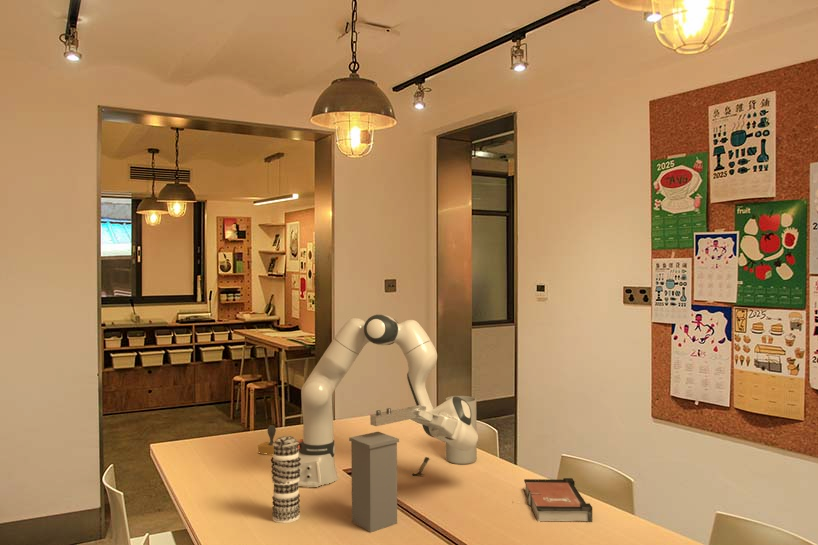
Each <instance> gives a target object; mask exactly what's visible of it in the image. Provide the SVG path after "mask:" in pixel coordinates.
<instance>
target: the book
mask: <svg viewBox="0 0 818 545" xmlns="http://www.w3.org/2000/svg"><path fill="white" fill-rule="evenodd" d="M523 481H524V485H525V489H524V493H525V496H526V497H527V498H526V499H527V504H528V506H529V507H532V508H531V510H532V512H533V514H535V515H534V517H535V519H536V521H540V522H539V523H543V522H544V523H593V506H592V505H591V503H589V502H586V501H585V499H583V496H582V495H581V494H580V492H579V491H578V489H577V488H576V486H575V482H576V481H575V479H573V478H572V477H568V478H567V477H563V479H546V478H545V479H541V478H540V479H539V478H538V479H536V478H535V479H530V478H528V479H524V480H523Z"/></svg>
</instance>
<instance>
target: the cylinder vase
mask: <svg viewBox="0 0 818 545" xmlns="http://www.w3.org/2000/svg"><path fill="white" fill-rule="evenodd" d="M454 396H456V397H460V398H462V399H463V400H465V401H466V402H467V403H468V404H469V406H470V409H471V424H472V426H473V428H474V429H475V431H476V432H477V431H478V430H477V398H476V397H473V396H467V395H451V396H448V397H445V401H447V400H449V399H450V398H452V397H454ZM477 433H478V432H477ZM477 446H478V445H477V444H476V445H475V446H474V447H473V448H472V449H470V450H468V451H462V450H459V449H456V448H454V447H452V446H450V445H449V444H448V443H447V442H445V459H446V461H447V462H449V463H451V464H455V465H469V464H473V463H475V462H476V461H477V458H478V457H477V455H478V454H477V452H478V451H477Z"/></svg>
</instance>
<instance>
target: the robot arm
mask: <svg viewBox="0 0 818 545" xmlns="http://www.w3.org/2000/svg"><path fill="white" fill-rule="evenodd" d="M369 343H372V344H373V345H378V346H390V345H393V344H396V345H397V346H399V348H400V349H401V352H402V353H403V355H404V357H405V359H406V362H407V367H408V371H407V373H406V378H407V382H408V385H409V386H408V387H409V388H410V391H411V395H412V397H413V399H414V402H415V406H418V405H422V406H425V407H426V412H424V411H422V410H418V411H417V413H416V414H417V415H418V416H420V417H418V418H413V419H409V420H411V421H412V422H414V423H416V424H420V425H422V428H423V430H424V432H425V434H426V435H428V436H430V437H432V438H435V439H437V440H439V441H441V442H443V443H446V442H447V443H448V444H449V445H450V446H452V447H454V448H456V449H459V450H462V451H468V450H470V449H472V448H473V447H474V446H475V445H476V444H477V443H478V442H479V435H478V432H476V431H477V430H476V431H475V429H474V428H473V426H472V424H471V409H470V406H469V404H468V403H467V402H466V401H465V400H463V399H462V398H460V397H456V396H457V395H453V396H454V397H452V398H450V399H449V400H447V401H446V400H445V401H444V402H442V403H441V404H439V405H437V406H436V407H433V404H432V402H431V399H430V396H429V394H428V391H427V388H426V382H427V379H428V377H429V375H430V374H431V372H432V371H433V369H434V368H435V366H436V364H437V362H438V361H437V360H438V353H437V350H436V347H435V345H434V343H433V341H432V340H431V338H430V337H429V335H428V334H427V332H426V330H425V329H424V328H423V327H422V325H421V324H419V322H418V321H416V320H414V319H408V320H406V319H405V320H404V321H402V322H400V323H399V322H398V320H396V319H395V318H393V317H392V316H389V315H387V314H386V315H385V314H374V315H372V316H370V317H368V318H367V320H366V321H365V320H363V319H362V318H358V317H353V318H350V319H349V320H347V322H345V323H344V325H343V326H342V327H341V328H340V330H338V332H337V334H336V335H335V336H334V337H333V340H332V341H331V342H330V343H329V345H328V347H327V349H325V351H324V352H323V355H322V356H321V357H320V359H319V360H318V362H317V363H316V365H315V366H314V368H313V369H312V371H311V373H310V374H309V376H308V377H307V379H306V380H305V382H304V384H303V385H302V387H301V390H300V392H301V393H300V394H301V396H300V397H301V410H302V420H303V421H302V422H303V424H302V429H303V430H302V432H303V436H302V437H303V439H299V440H298V442H299V443H298V457H299V458H301V460H300V461H298V462H300V463H301V465H300V466H298V468H299V469H300V472H299V474H300V476H299V481H298V486H308V487H307V488H309V487H317V488H319V487H318V486H320V485H322V486H325V485H324V484H326V485H329V483H330V484H332V483H335V482H336V481H338V478H339V476H338V474H337V473H338V472H337V468H336V464H335V454H336V443H335V439H334V413H333V393H334V391H335V390H336V389H337V387H338V385H339V384H340V383H341V382H342V380H343V378H344V377H345V376H346V374H347V373H348V371H349V370H350V368H351V367H352V366H353V364H354V362H355V361H356V359H357V358H358V356H359V355H360V354H361V352H362V350H363V348H365V346H366V345H367V344H369ZM334 481H335V482H334ZM320 487H321V486H320Z"/></svg>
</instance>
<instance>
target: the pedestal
mask: <svg viewBox="0 0 818 545" xmlns="http://www.w3.org/2000/svg"><path fill="white" fill-rule="evenodd" d="M348 438H349V439H348V440H349V442H350V443H351V447H350V448H351V522H352V523H353V524H355V525H357V526H359V527H361V528H362V529H363V530H366V531H367V532H369V533H373V532H375V531H379V530H382V529H385V528H388V527H391V526H394V525H396V524H398V443H400V438H398V437H394V436H392V435H389V434H386V433H383V432H381V431H374V432H370V433H364V434H360V435H354V436H350V437H348Z"/></svg>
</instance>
